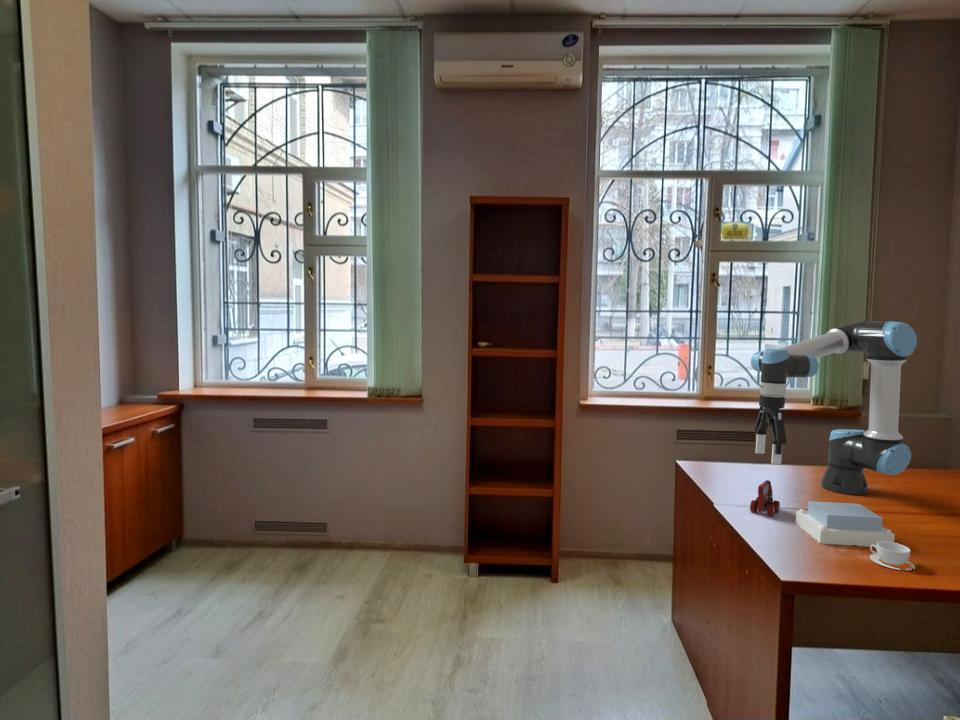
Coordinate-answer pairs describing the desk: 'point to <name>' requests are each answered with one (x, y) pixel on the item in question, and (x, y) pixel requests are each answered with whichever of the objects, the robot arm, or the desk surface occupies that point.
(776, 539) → the desk surface
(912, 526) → the desk surface
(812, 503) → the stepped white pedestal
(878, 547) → the teacup
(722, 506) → the desk surface
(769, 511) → the red toy vehicle
